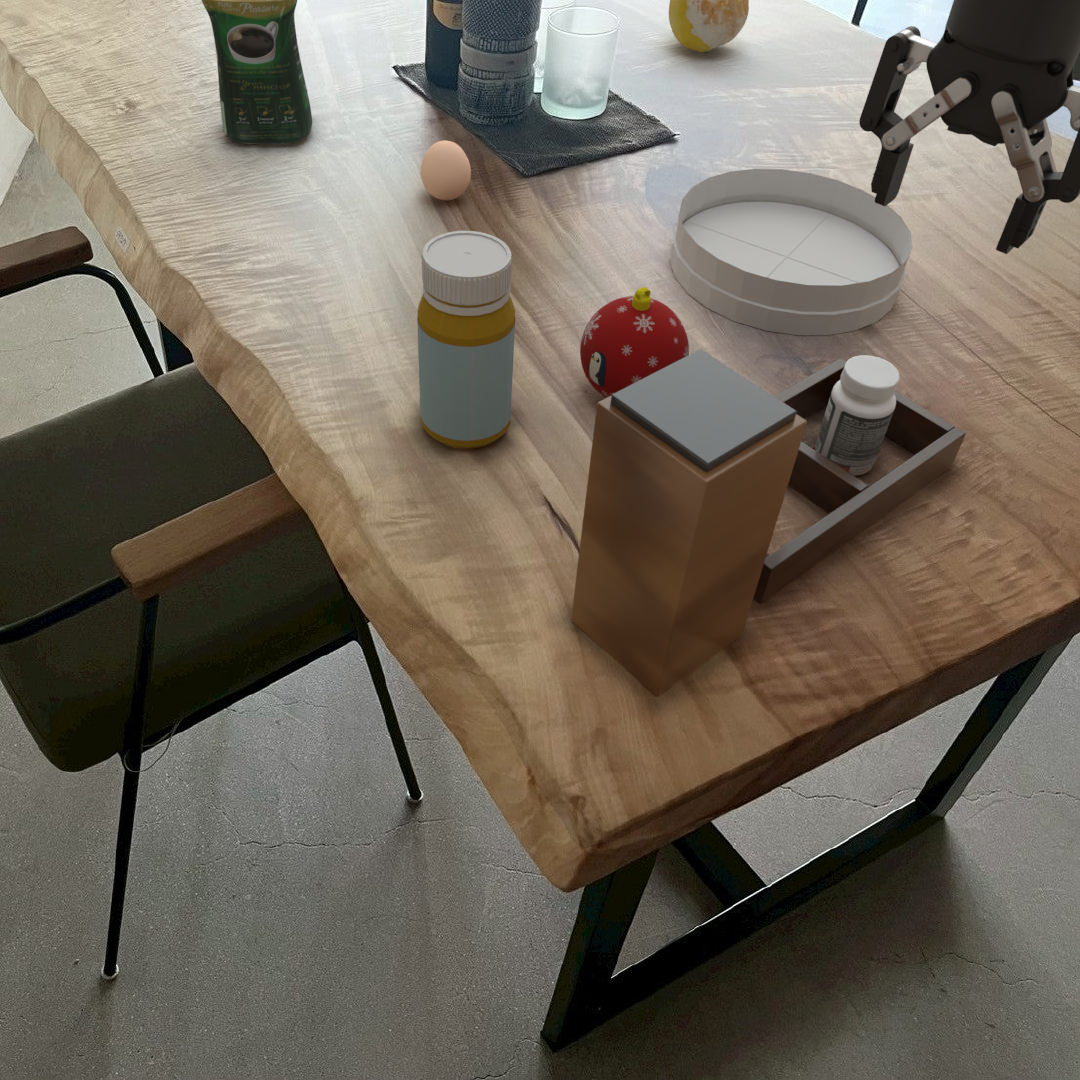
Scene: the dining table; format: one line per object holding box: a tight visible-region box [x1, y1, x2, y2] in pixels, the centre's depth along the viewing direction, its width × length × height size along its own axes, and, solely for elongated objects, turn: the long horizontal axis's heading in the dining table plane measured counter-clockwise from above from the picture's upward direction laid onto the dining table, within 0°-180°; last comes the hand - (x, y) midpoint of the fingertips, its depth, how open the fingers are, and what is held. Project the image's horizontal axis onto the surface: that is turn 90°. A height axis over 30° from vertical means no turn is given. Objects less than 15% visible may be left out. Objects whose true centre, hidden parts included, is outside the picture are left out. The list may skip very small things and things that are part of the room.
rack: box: [753, 357, 967, 605], centre depth 78 cm, size 12×23×4 cm, turn 131°
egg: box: [420, 140, 472, 201], centre depth 105 cm, size 5×5×6 cm
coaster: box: [611, 348, 797, 472], centre depth 56 cm, size 7×7×1 cm
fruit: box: [668, 0, 750, 53], centre depth 137 cm, size 10×11×10 cm
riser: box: [570, 396, 808, 698], centre depth 62 cm, size 8×8×18 cm
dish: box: [669, 168, 913, 336], centre depth 100 cm, size 22×22×5 cm
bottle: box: [416, 230, 516, 450], centre depth 77 cm, size 7×7×15 cm
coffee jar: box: [201, 0, 313, 145], centre depth 109 cm, size 10×8×19 cm
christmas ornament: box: [579, 286, 690, 399], centre depth 82 cm, size 9×9×10 cm
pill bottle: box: [813, 354, 901, 477], centre depth 79 cm, size 5×5×8 cm
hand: (944, 224), depth 69 cm, fingers open, 8 cm apart
